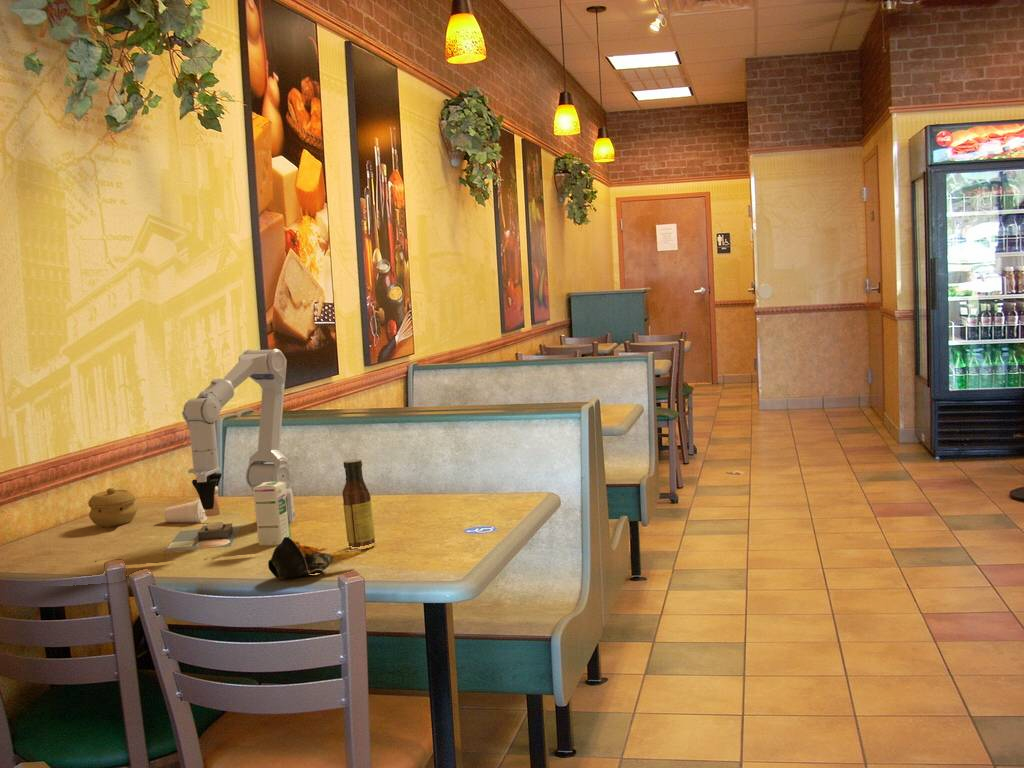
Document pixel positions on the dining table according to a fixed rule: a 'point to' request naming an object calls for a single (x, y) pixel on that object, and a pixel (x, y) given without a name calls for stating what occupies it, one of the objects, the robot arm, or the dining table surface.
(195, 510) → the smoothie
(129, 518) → the pot
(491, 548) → the dining table surface
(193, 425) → the robot arm
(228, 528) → the button collar
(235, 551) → the dining table surface
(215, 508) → the terracotta marker
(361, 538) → the sauce bottle
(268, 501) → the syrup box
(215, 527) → the button
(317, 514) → the dining table surface
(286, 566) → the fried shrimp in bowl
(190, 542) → the picture board
